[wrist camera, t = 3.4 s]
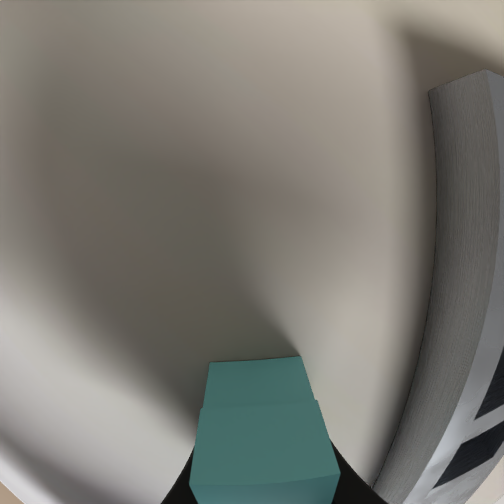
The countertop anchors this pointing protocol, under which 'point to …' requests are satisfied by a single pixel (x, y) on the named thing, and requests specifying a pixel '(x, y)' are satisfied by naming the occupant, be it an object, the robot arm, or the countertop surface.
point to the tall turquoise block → (262, 437)
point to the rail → (459, 310)
